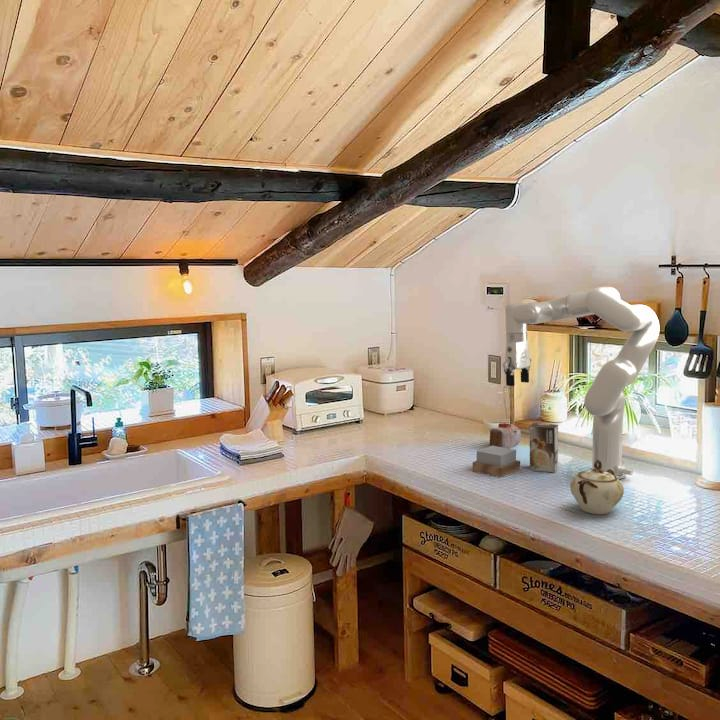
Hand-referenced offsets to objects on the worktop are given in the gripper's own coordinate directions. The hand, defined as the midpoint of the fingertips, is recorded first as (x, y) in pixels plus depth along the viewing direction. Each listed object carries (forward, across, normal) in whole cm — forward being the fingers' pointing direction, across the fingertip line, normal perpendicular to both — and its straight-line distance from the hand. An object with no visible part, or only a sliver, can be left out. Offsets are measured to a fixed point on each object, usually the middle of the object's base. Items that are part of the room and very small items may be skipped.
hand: (517, 384), depth 261 cm
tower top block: (+26, -16, 0) cm, 30 cm away
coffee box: (+30, -4, -12) cm, 32 cm away
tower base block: (+30, -16, 0) cm, 34 cm away
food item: (+29, +15, +16) cm, 36 cm away
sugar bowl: (+31, -31, -46) cm, 63 cm away
